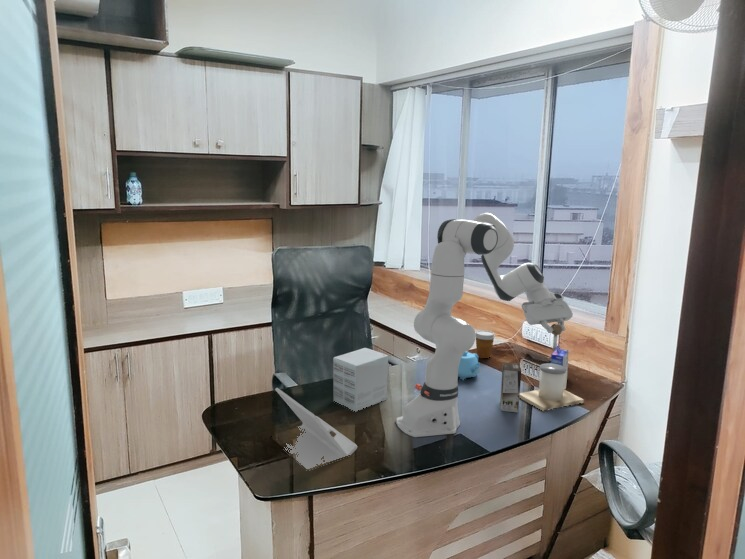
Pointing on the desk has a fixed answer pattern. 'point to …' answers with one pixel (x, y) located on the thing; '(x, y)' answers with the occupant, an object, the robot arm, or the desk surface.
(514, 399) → the coffee box
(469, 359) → the blue piggy bank
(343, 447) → the tablet stand
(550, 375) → the white jar with lid
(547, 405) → the oak board
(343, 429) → the desk surface
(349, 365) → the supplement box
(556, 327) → the ball-topped rod
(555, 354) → the ink cartridge box
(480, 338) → the disposable coffee cup
